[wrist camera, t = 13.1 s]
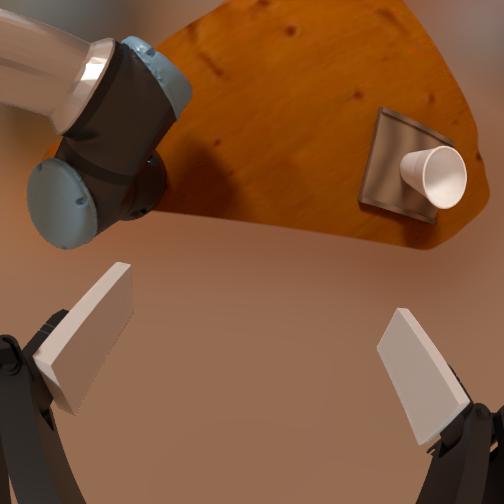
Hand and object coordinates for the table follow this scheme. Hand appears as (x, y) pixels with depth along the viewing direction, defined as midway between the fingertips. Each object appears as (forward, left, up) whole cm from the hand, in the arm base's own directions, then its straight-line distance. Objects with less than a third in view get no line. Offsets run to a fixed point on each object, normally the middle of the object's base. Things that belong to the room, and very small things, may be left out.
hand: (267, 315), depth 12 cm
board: (+27, +11, -37) cm, 47 cm away
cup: (+27, +11, -35) cm, 46 cm away
